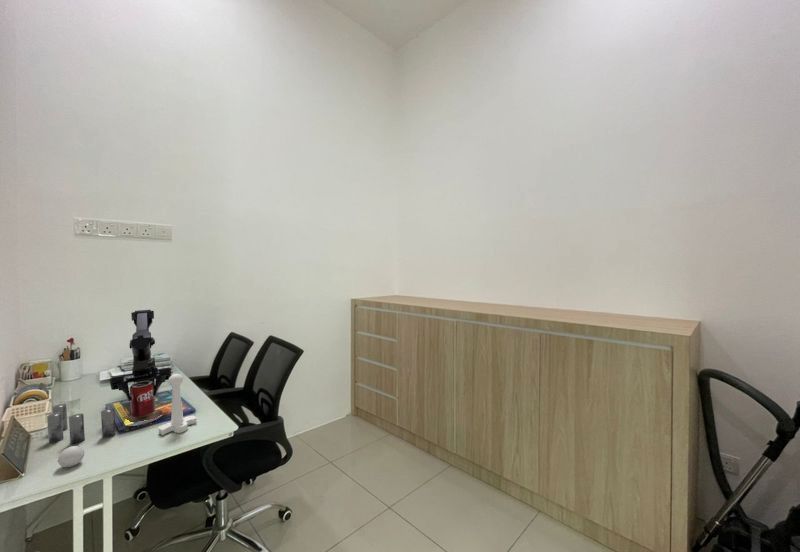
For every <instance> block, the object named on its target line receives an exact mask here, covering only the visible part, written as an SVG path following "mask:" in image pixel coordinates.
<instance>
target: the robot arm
mask: <svg viewBox="0 0 800 552" xmlns="http://www.w3.org/2000/svg"><path fill="white" fill-rule="evenodd" d="M130 314H131V321H133V324H134V327H136V328H135V329H136V330H135V332H134V333H133V334H132V339H130V340H129V349H131V351H132V356H133V357H132V359H133V360H132V361H133V362H132V368H131V369H132V370H131V372H132V373H131V375H132V376H130V377H126V376H125V375H124V374H121V375H116V376H112V377H110V380H109V385H110V389H111V390H112V391H116V390H118V391H122V392H123V394H125V396H126V398H127V400H128V402H131V401H130V387H129V384H130V383H133V384H134V383H137V382H141V381H153V382H154V397H156V396H157V394H158V391H159V389H160V387H161V386H162V385H163V383H165V382H166V381H168V379H169V378H170V376H172V369H171V367H164V368H158V367H157V365H156V357H152V353H151V349H152V347H154V345H156V340H155V338H154V337H152V333H151V331H150V327H151V326H152V324H153V320H154V319H155V311H154V310H151V309H141V310H140V309H139V310H134V312H133V311H132V312H131V313H130Z"/></svg>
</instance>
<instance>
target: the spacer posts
mask: <svg viewBox="0 0 800 552" xmlns="http://www.w3.org/2000/svg"><path fill="white" fill-rule="evenodd" d="M51 410H52V413H51V414H49V415H47V416H46V419H47V420H46V421H47V438H48V443H49V444H54V443H58V442H61V441H63V440H64V431H66V430H69V442H70V443H69V444H70V445H72V446H76V445H78V444H81V443H84V441H86V438H85V437H86V436H85V435H86V434H85V418H84V416H85V415H84V413H81V412H80V413H76V414H73V415H70V416H69V417H68V412H67V411H68V410H67V403H60V404H57V405H53V406H52V409H51ZM115 411H116V410H115V408H111V407H109V408H107V409H103V410H101V411H100V419H101V421H100V422H101V437H102V439H109V438H113V437H114V436H115V435H116V434H117V432H116V415H115ZM68 426H69V427H68ZM68 428H69V429H68Z"/></svg>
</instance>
